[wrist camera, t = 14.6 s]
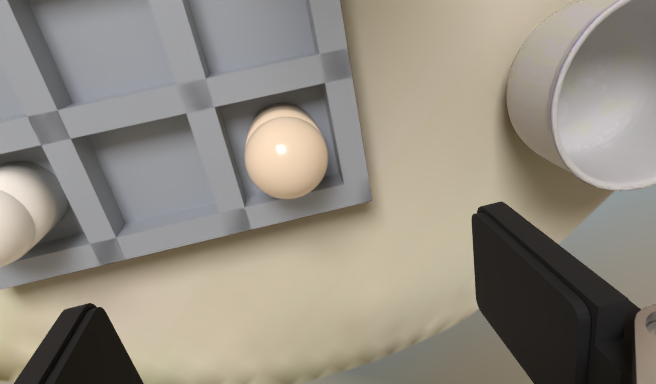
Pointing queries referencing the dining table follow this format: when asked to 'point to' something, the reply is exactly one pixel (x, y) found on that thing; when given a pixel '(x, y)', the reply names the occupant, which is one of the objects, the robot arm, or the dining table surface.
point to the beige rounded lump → (285, 151)
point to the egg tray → (167, 118)
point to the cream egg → (27, 207)
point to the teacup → (591, 92)
